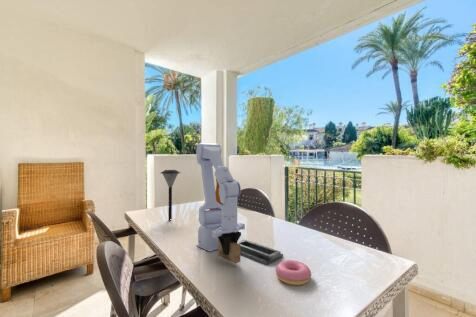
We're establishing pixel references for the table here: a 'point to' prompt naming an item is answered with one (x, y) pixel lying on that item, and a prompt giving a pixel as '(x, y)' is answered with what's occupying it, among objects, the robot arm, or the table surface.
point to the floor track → (259, 252)
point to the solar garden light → (170, 185)
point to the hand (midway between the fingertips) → (229, 253)
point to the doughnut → (293, 272)
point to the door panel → (230, 252)
